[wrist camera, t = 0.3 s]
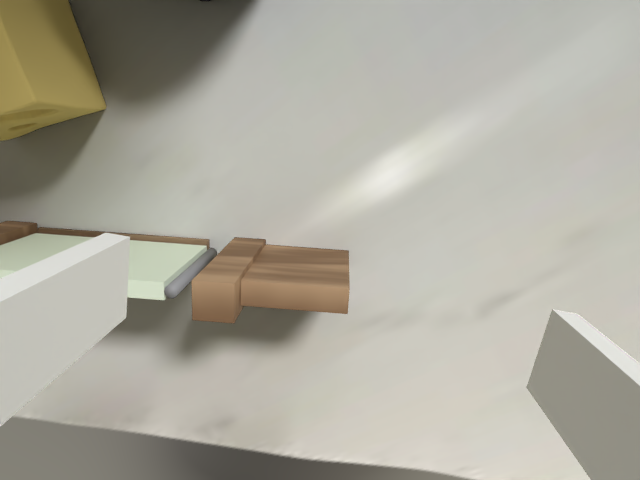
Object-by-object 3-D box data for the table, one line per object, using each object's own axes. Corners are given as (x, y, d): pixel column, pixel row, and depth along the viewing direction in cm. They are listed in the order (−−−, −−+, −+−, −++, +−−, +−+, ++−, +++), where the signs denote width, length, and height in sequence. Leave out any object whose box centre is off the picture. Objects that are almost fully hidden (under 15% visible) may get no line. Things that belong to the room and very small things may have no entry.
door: (217, 246, 41) (177, 283, 31) (217, 278, 41) (178, 323, 32) (35, 233, 41) (-59, 265, 32) (39, 264, 42) (-52, 305, 33)
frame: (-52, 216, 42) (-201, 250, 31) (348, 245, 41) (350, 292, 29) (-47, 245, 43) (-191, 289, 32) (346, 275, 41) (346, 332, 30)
